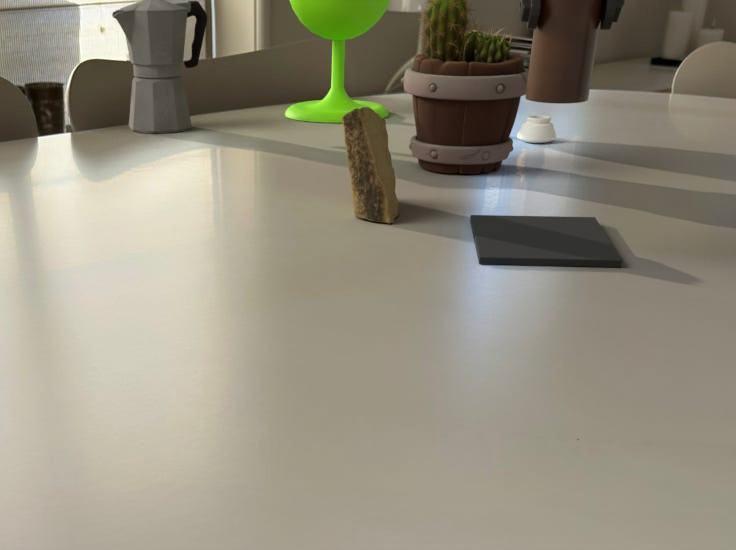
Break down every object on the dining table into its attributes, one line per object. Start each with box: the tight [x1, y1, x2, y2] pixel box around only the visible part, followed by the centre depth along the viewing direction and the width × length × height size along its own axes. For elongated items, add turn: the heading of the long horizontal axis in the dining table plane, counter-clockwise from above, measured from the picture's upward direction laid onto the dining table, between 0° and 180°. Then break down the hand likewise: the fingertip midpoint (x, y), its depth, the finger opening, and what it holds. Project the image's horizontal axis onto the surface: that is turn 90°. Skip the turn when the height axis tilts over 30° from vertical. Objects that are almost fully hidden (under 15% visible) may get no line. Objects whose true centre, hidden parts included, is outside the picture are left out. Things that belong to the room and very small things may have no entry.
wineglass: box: [284, 0, 392, 124], centre depth 158 cm, size 16×16×18 cm
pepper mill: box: [525, 0, 603, 105], centre depth 83 cm, size 5×5×12 cm
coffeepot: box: [111, 0, 208, 134], centre depth 149 cm, size 15×9×18 cm, turn 128°
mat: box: [469, 214, 623, 268], centre depth 97 cm, size 12×16×1 cm
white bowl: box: [516, 114, 557, 144], centre depth 141 cm, size 5×3×5 cm
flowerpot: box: [400, 0, 529, 175], centre depth 122 cm, size 14×15×20 cm
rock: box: [341, 107, 400, 225], centre depth 107 cm, size 11×9×10 cm
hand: (571, 20), depth 82 cm, fingers closed on pepper mill, 5 cm apart
